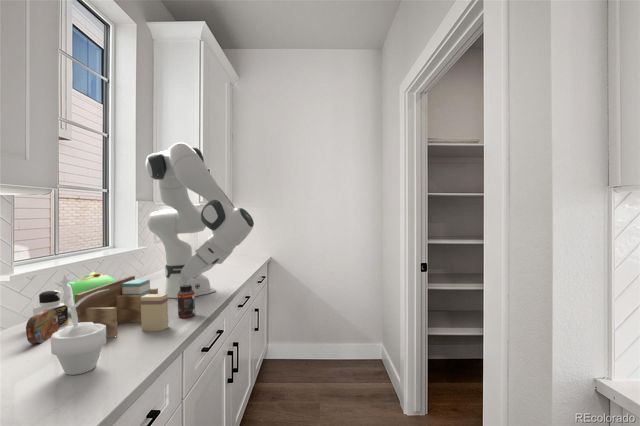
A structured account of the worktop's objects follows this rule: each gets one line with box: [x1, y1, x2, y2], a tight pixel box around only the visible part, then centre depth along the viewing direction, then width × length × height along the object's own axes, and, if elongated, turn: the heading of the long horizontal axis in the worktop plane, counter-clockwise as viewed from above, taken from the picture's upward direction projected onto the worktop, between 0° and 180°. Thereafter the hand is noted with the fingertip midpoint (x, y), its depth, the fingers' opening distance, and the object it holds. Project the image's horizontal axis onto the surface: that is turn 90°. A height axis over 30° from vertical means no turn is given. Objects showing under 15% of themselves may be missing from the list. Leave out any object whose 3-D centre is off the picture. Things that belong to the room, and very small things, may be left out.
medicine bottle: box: [32, 289, 69, 327], centre depth 127 cm, size 7×7×12 cm
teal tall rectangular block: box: [122, 278, 151, 296], centre depth 135 cm, size 6×7×13 cm
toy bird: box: [58, 271, 117, 305], centre depth 147 cm, size 18×17×15 cm
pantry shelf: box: [75, 275, 159, 338], centre depth 126 cm, size 10×30×14 cm, turn 177°
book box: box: [140, 293, 169, 332], centre depth 121 cm, size 7×4×11 cm, turn 87°
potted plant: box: [50, 273, 109, 376], centre depth 91 cm, size 13×12×25 cm
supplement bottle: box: [176, 284, 196, 319], centre depth 134 cm, size 6×6×11 cm
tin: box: [25, 308, 60, 345], centre depth 114 cm, size 15×3×8 cm, turn 12°
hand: (186, 281), depth 120 cm, fingers open, 8 cm apart
